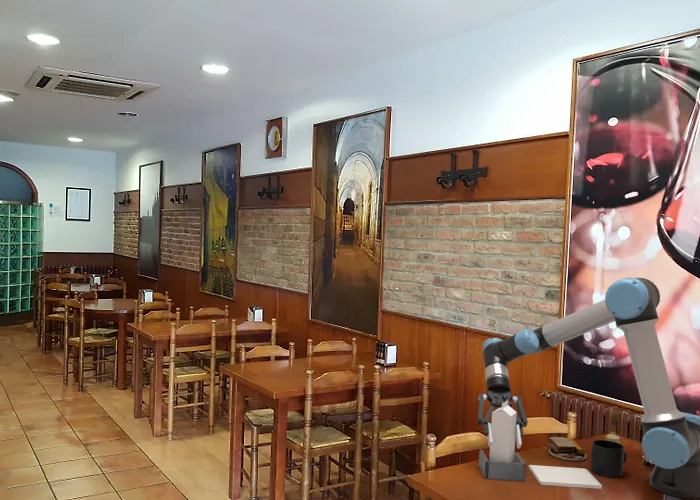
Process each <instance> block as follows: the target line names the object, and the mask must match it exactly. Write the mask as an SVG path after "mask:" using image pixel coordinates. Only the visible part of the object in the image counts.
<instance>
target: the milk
mask: <svg viewBox="0 0 700 500" xmlns="http://www.w3.org/2000/svg"><path fill="white" fill-rule="evenodd" d="M517 415H518V411H516V410H515V409H514V410H513V409H512V408H511V407H510V406H508V401H506V402H504V403H503V404H502V407H498V408H497V409H496V410H493V411H492V414H491V431H492V441H493V443H492V446H491V447H490V446H489V459H488V461H493V462H508V463H514V452H515V449H516V434H515V433H516V416H517Z"/></svg>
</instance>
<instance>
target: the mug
mask: <svg viewBox="0 0 700 500" xmlns="http://www.w3.org/2000/svg"><path fill="white" fill-rule="evenodd" d="M590 458H591V459H590V460H591V461H590V470H591V472H592V473H594V474H596V475H599V476H601V477H605V478H612V479H616V478H622V477H623V475H624V474H623V473H624V464H625V463H626V462H627V459H628V454H627V452H626V451H625V446H624V445H623V444H621V443H620V444H619V443H617V442H613V441H608V440H606V439H596V440H593V441H592V443H591V457H590Z"/></svg>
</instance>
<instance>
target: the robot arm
mask: <svg viewBox="0 0 700 500" xmlns="http://www.w3.org/2000/svg"><path fill="white" fill-rule="evenodd" d="M660 302H661V294H660V290H659V288H658V287H657V285H656V284H655V283H654V282H653V281H652V280H649V279H648V278H643V277H623V278H622V279H618V280H616V281H614V282H612V283H611V284H610V286H609V287H608V288H607V290H606V292H605V296H604V299H603V300H600V301H598V302H596V303H594V304H593V303H592V304H591V305H589V306H586V307H584V308H582V309H579V310H577V311H575V312H573V313H570V314H568V315H565V316H563V317H561V318H558V319H557V320H554V321H551V322H549V323H547V324H545V325H543V326H541V327H539V328H535V329H534V330H531V329H529V328H525V329H524V330H519V331H518V332H517V333H514V334H513V335H510V336H509V337H506V338H505V339H502V338H499V337H493V338H491V337H490V338H488V339H486V340H485V341H484V342H483V344H482V357H483V363H484V374H485V381H486V383H485V384H486V386H485V387H486V394H483V393H482V392H480V393H479V394H478V395H477V396H478V397H477V401H478V411H477V420H476V422H477V423H476V424H478V425H481V426H482V428H483V434H484V436H487V444H488V447H489V448H490V447H491V446H492V443H493V441H492V431H491V423H492V422H491V423H490V422H489V421H490V418H491V417H492V412H494V409H495V408H497V409H499V408H501V407H502V404H503V403H504V402H506V401H508V406H510V407H511V408H512V409H513V410H515V408H514V407H513V405H512V401H513V402H514V405H515V407H516V410H517V411H516V412H517V416H516V433H515V443H516V447H517V449H521V447H522V443H523V442H522V438H523V436H524V428H526V427H527V426H528V423H529V420H528V418H527V415H526V411H525V409H524V406H523V403H522V399H523V398H522V396H521V395H518V396H515V395H513V393H512V392H511V391H512V389H511V382H510V375H509V368H508V364H509V363H511V362H513V361H515V360H518V359H520V358H522V357H525V356H529V355H532V354H537V353H542V352H545V351H546V350H548V349H550V348H552V347H555V346H557V345H559V344H562V343H564V342H567V341H570V340H572V339H574V338H577V337H579V336H582V335H584V334H587V333H589V332H592V331H594V330H596V329H599V328H602V327H604V326H608V325H609V324H612V323H615V326H616V327H617V328H618V329H619V330H621V331H622V332H623V335H624V338H625V342H626V346H627V350H628V351H627V352H628V355H629V358H630V363H631V366H632V369H633V374H634V377H635V382H636V386H637V389H638V395H639V397H640V401H641V405H642V408H643V411H644V413H643V416H642V417H641V418H640V422H641V427H642V430H643V437H642V440H641V441H642V442H641V446H642V448H641V449H642V451H643V453H644V455H645V457H646V458H647V459H648V460H649V462H651V463H653V464H654V467H653V469H652V471H651V474H650V477H649V485H650V487H652V488H653V489H655V490H657V491H658V492H661V493H662V494H663V493H664V494H666V495H669V496H671V497H677V498H681V499H687V500H688V499H689V500H692V499H693V500H696V499H695V498H700V415H696V414H693V413H687V412H684V411H680V410H679V409H678V408H677V405H676V401H675V396H674V393H673V389H672V386H671V383H670V379H669V375H668V372H667V367H666V364H665V360H664V357H663V356H664V355H663V353H662V349H661V345H660V342H659V341H660V340H659V337H658V334H657V329H656V325H657V323H658V321H659V316H658V312H657V308H658V307H659V304H660ZM486 399H487V401H488V402H489V403H490V406H489V407H488V411H487V412H486V415H485V418H483V415H484V405H485V402H486Z"/></svg>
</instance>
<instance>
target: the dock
mask: <svg viewBox="0 0 700 500" xmlns="http://www.w3.org/2000/svg"><path fill="white" fill-rule="evenodd" d="M478 467H479V469H480V471H481V473H482V476H483V478H484V479H487V480H501V481H512V482H513V481H516V482H526V475H527V472H526V471H527V463H526V462H525V461H524V459H523V458H522V457H521V455H520V454H519V452H515V451H514V463H508V462H493V461H489V459H488V458H487V455H486V454H485V451H484V450H482V449H481V450H480V449H479V455H478Z"/></svg>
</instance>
